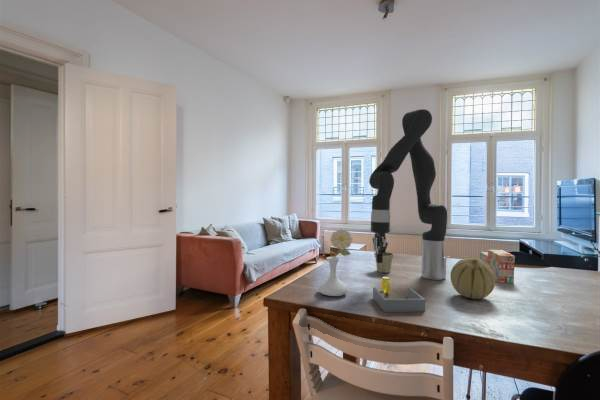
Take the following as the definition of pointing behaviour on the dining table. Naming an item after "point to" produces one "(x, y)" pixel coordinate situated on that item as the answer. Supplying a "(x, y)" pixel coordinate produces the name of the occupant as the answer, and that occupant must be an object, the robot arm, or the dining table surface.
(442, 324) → the dining table surface
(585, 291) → the dining table surface
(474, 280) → the cantaloupe
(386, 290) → the watch
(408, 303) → the box
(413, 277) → the dining table surface
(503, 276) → the printed cardboard carton
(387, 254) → the flower pot
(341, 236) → the flower in vase
